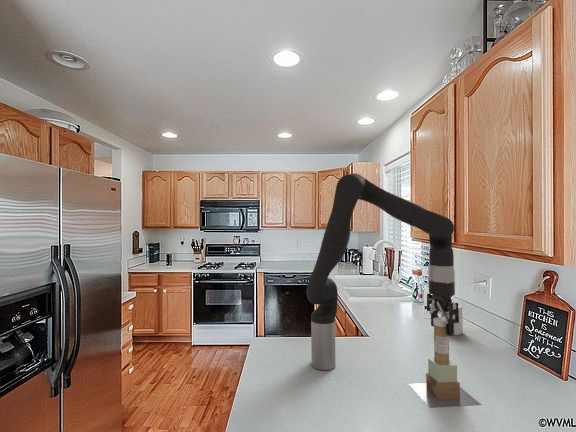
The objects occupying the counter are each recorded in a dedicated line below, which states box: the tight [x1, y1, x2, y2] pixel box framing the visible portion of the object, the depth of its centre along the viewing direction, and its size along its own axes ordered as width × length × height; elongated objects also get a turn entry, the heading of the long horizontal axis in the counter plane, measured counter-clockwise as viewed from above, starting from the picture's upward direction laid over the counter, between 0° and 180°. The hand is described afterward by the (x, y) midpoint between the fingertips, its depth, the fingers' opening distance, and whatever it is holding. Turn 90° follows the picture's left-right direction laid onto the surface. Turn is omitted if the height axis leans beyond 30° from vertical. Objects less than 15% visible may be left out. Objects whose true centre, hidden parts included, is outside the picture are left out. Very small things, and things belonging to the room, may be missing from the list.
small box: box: [440, 305, 464, 336], centre depth 163 cm, size 8×6×13 cm
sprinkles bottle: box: [433, 316, 451, 364], centre depth 103 cm, size 5×5×14 cm
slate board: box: [408, 382, 482, 409], centre depth 103 cm, size 14×16×1 cm
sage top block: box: [427, 357, 458, 383], centre depth 103 cm, size 6×6×5 cm
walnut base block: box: [425, 372, 461, 400], centre depth 103 cm, size 7×7×5 cm
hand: (441, 330), depth 103 cm, fingers open, 8 cm apart
